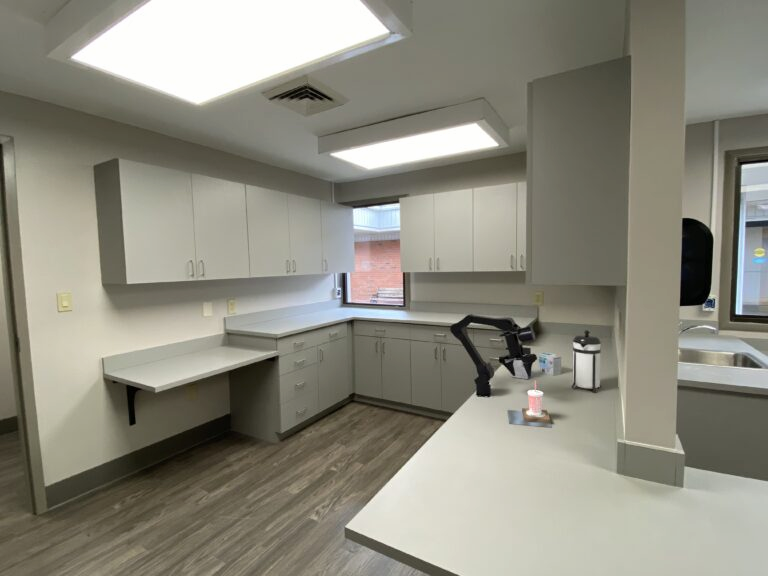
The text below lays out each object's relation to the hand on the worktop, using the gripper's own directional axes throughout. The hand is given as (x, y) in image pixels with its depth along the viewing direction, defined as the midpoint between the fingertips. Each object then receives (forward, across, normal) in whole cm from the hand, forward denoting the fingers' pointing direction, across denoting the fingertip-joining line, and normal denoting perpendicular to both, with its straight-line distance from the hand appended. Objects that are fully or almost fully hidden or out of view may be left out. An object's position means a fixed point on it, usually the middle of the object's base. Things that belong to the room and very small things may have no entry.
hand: (521, 376), depth 175 cm
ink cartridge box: (+10, +27, -27) cm, 39 cm away
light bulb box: (+13, +24, -47) cm, 54 cm away
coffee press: (+18, -2, -40) cm, 44 cm away
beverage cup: (+12, -13, +12) cm, 22 cm away
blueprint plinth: (+13, -12, +15) cm, 23 cm away
